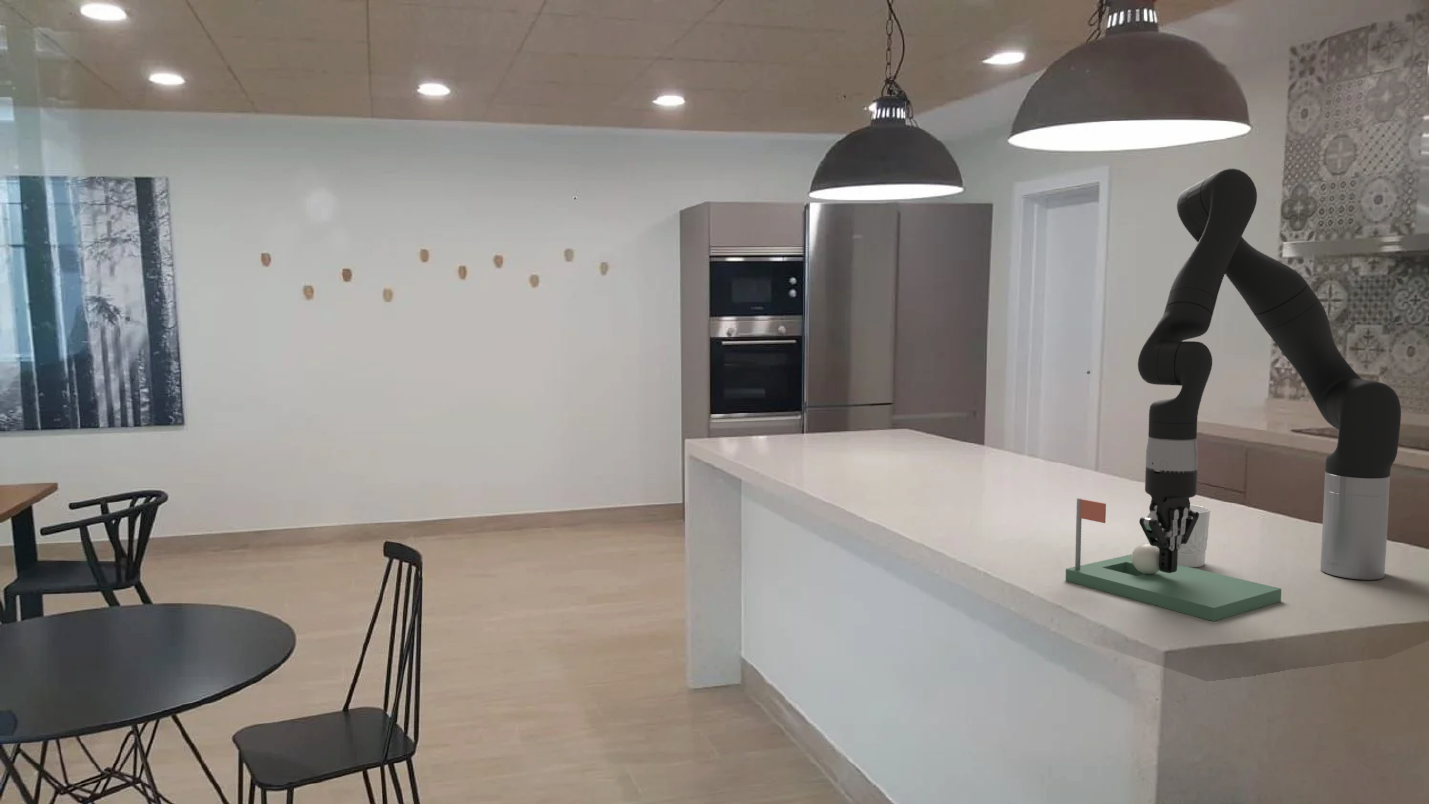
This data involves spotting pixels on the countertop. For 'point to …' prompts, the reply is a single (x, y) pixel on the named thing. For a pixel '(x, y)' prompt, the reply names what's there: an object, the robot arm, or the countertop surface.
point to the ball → (1146, 558)
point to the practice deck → (1167, 581)
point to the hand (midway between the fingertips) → (1167, 571)
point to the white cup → (1196, 540)
